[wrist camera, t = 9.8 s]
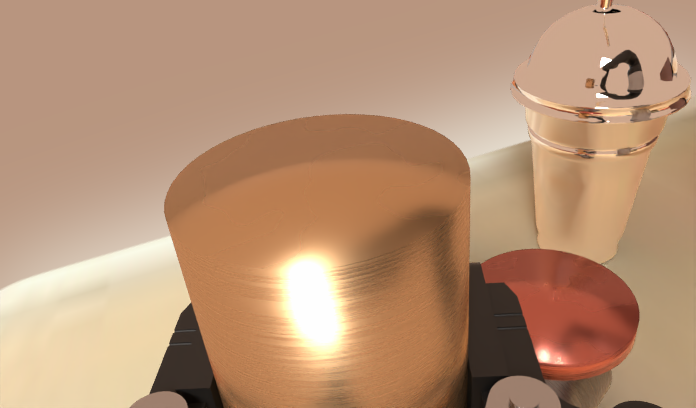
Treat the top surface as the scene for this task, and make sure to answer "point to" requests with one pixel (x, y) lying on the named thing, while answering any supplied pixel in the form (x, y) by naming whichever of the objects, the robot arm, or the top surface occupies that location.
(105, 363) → the top surface
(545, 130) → the cup with straw
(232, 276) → the copper cylinder
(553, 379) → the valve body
